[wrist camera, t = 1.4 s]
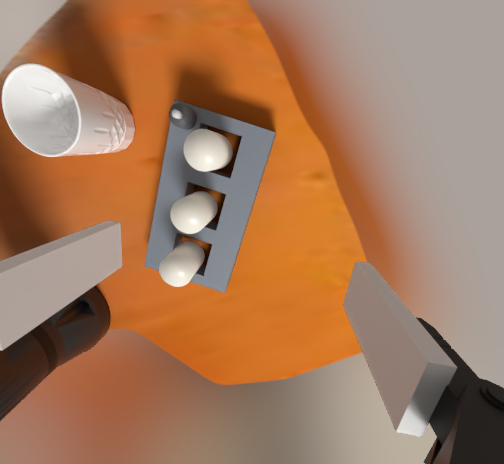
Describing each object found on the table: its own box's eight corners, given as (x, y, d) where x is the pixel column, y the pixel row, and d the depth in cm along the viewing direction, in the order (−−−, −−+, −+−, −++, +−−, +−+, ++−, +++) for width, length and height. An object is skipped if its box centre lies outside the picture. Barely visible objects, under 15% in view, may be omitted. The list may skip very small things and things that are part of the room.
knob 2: (196, 163, 29) (179, 164, 25) (203, 128, 28) (188, 123, 23) (227, 173, 29) (217, 176, 25) (236, 139, 28) (227, 136, 23)
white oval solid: (184, 216, 32) (167, 227, 27) (190, 186, 30) (174, 192, 26) (213, 226, 32) (201, 238, 27) (221, 196, 30) (210, 204, 26)
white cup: (76, 95, 31) (-13, 69, 22) (132, 87, 30) (65, 57, 21) (92, 158, 34) (19, 160, 24) (145, 153, 33) (90, 152, 23)
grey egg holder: (154, 257, 37) (131, 276, 31) (184, 104, 30) (161, 92, 24) (228, 282, 37) (219, 306, 31) (275, 134, 30) (274, 129, 24)
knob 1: (173, 262, 34) (156, 280, 29) (179, 237, 33) (162, 251, 28) (201, 271, 34) (188, 291, 29) (207, 246, 32) (195, 262, 28)
